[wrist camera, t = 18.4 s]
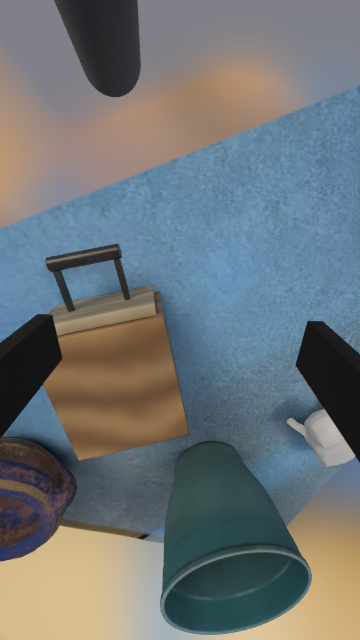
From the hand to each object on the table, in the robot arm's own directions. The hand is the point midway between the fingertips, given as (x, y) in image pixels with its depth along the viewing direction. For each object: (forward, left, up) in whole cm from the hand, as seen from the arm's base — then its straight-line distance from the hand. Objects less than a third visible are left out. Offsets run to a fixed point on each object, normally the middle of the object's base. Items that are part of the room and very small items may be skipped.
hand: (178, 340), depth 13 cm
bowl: (+25, -28, -20) cm, 42 cm away
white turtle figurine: (+30, +21, -20) cm, 41 cm away
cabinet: (+10, -7, -19) cm, 23 cm away
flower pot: (+36, +1, -20) cm, 41 cm away
